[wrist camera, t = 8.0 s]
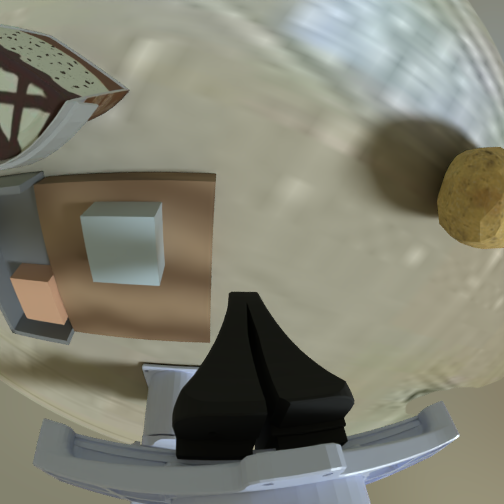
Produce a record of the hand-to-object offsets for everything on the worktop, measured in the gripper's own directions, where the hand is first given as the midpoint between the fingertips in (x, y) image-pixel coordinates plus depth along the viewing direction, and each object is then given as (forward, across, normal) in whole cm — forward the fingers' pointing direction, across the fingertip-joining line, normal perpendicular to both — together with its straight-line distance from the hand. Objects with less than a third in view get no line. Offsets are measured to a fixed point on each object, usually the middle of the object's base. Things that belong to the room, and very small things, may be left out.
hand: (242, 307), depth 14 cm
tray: (+9, +20, +4) cm, 22 cm away
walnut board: (+9, +8, +4) cm, 13 cm away
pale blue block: (+7, +8, 0) cm, 10 cm away
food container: (+10, +14, -10) cm, 20 cm away
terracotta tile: (+9, +18, +7) cm, 21 cm away
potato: (+10, -22, -6) cm, 25 cm away
